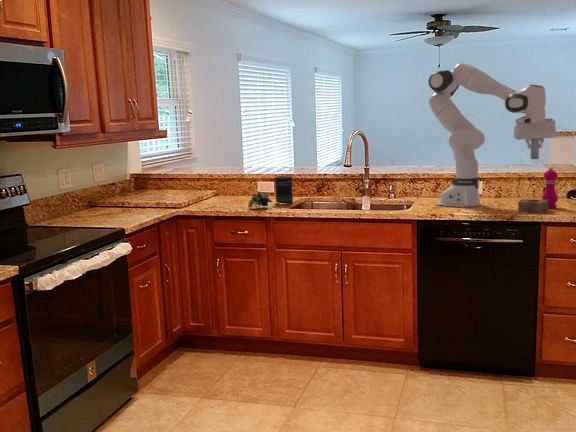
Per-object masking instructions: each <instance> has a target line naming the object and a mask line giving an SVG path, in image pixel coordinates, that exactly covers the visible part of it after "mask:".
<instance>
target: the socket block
mask: <svg viewBox="0 0 576 432" xmlns="http://www.w3.org/2000/svg"><path fill="white" fill-rule="evenodd" d="M517 204H518V208H517V209H518V211H517V212H518V213H522V212H527V213H526V214H547V212H548V211H549V209H548V200H542V199H537V198H536V199H535V198H533V199H532V198H521V199H520V200H519V201H518V203H517Z"/></svg>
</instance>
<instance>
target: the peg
mask: <svg viewBox="0 0 576 432" xmlns="http://www.w3.org/2000/svg"><path fill="white" fill-rule="evenodd" d="M539 142H540V140H539V138H535V139H530V144H531V145H532V148H531V149H530V160H539V158H540V157H539V156H540V148H539Z"/></svg>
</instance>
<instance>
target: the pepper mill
mask: <svg viewBox="0 0 576 432" xmlns="http://www.w3.org/2000/svg"><path fill="white" fill-rule="evenodd" d="M543 178H544V179H545V180H544V184H545V190H544V192H543V194H542V196H541V200H548V210H550V209H557V204H556V203H557V202H558V200H559V196H558V194H557V191H556V189H555V185H556V184H557V178H558V173H557V171H556V170H553V167H552V166H550V167H549V168H548V170H546V171H545V172H544V174H543Z"/></svg>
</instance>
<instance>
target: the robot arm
mask: <svg viewBox="0 0 576 432" xmlns="http://www.w3.org/2000/svg"><path fill="white" fill-rule="evenodd" d="M460 86H462V87H463V88H465V89H466V90H468V91H470V92H473V93H476V94H482V95H491V96H495V97H497V98H499V99H502V100H503V101H504V106H505V109H506V110H507V111H509V112H510V113H512V114H524V116H523V115H522V116H521V117H519V118H517V119H515V126H514V128H513V139H515V140H525V141H524V142H525V143H526V145H527V149H530V150H531V148H532V145H531V139H535V138H539V149H542V147H543V144H544V142H545V139H550V138H551V139H552V138H553V139H554V138H555V137H556V136H557V129H556V121H555V119H554V118H551V117H550V118H546V108H545V106H546V102H547V100H546V99H547V98H546V97H547V96H546V95H547V94H546V88H545V87H544V86H542V85H539V84H528V85H526V87H524V88H523V89H521V90H518V91H517V90H514V89H513V88H511V87H508V86H506V85H505V84H502V83H501V82H499V81H497V80H496V79H495V78H493V77H491V75H489V74H488V73H486V72H485V71H483V70H482V69H479V67H478V68H477V67H475V66H474V65H471V64H468V63H463V62H460V63H457V64H456V65H455V66H454V67H453V68H452V70H451V71H450V70H449V69H445V70H438V71H434V72H432V73H431V74H430V76H429V78H428V87H430V89H431V90H432V91H434V92H433V94H431V96H430V97H429V98H428V105H429V107H430V109H431V110H432V112H433V114H434V116H435V117H436V118H437V120H438V121H439V123H440V124H441V126H442V127H443V129H445V130H446V131H447V132H449V133H450V136H449V138H448V144H449V147H450V148H451V150H452V152H453V156H454V162H455V177H453V178H452V179H451V185H450V186H449V187H447V188H446V189H445V190H443V191H442V192H441V194H440V200H437V201H436V203H435V205H436V206H440V205H443V207H454V206H455V207H456V208H468V207H475V206H477V207H478V206H481V205H482V203H481V199H480V194H479V187H480V178H479V162H478V159H476V158H477V157H476V155H475V151H474V150H477V149H480V147H482V146H483V145H484V143H485V140H486V137H485V134H484V133H483V131H481V130H480V129H478V128H477V127H476V126H475V125H474V124H473V123H472V122H471V121H469V120H468V118H466V117H465V116H464V115H463V113H462V112H461V111H460V110H459V108H458V107H457V106H456V104H455V103H454V102H453V101H452V99H451V97H453V95H454V94H455V92H456V91H457V90H458V89H459V87H460Z"/></svg>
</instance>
